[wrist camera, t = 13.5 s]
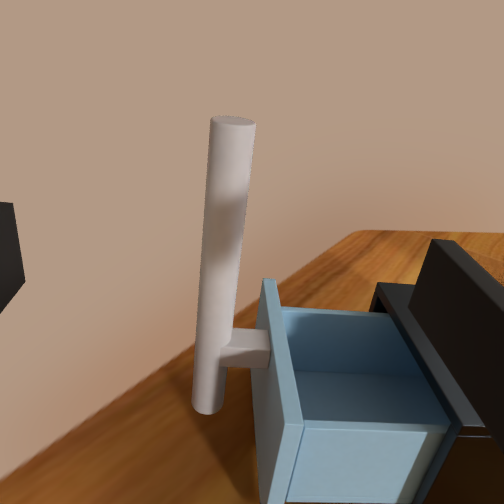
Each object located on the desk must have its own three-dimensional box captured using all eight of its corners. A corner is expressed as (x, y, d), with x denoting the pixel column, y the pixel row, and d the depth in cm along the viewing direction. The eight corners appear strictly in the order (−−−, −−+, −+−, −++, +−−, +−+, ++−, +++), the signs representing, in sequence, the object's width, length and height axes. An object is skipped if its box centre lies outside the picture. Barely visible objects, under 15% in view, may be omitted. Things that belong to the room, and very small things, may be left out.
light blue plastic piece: (180, 527, 24) (204, 156, 14) (195, 360, 36) (214, 97, 26) (507, 529, 26) (732, 208, 16) (418, 371, 38) (515, 131, 28)
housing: (408, 532, 26) (462, 425, 21) (349, 371, 37) (377, 281, 33) (636, 534, 27) (732, 435, 23) (510, 379, 39) (557, 294, 35)
